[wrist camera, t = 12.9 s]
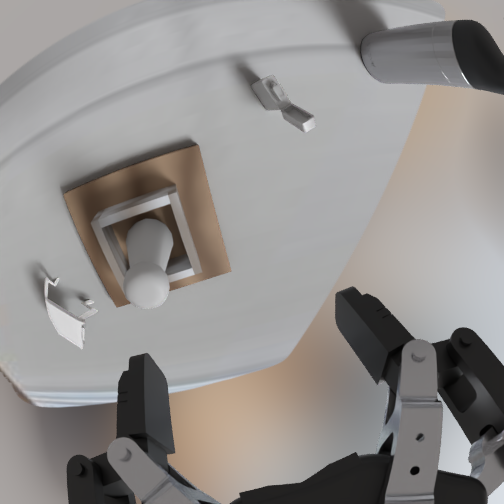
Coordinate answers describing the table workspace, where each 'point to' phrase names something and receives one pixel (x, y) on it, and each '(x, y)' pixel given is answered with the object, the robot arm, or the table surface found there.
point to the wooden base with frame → (151, 207)
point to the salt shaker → (147, 263)
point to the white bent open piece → (67, 318)
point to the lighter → (282, 103)
